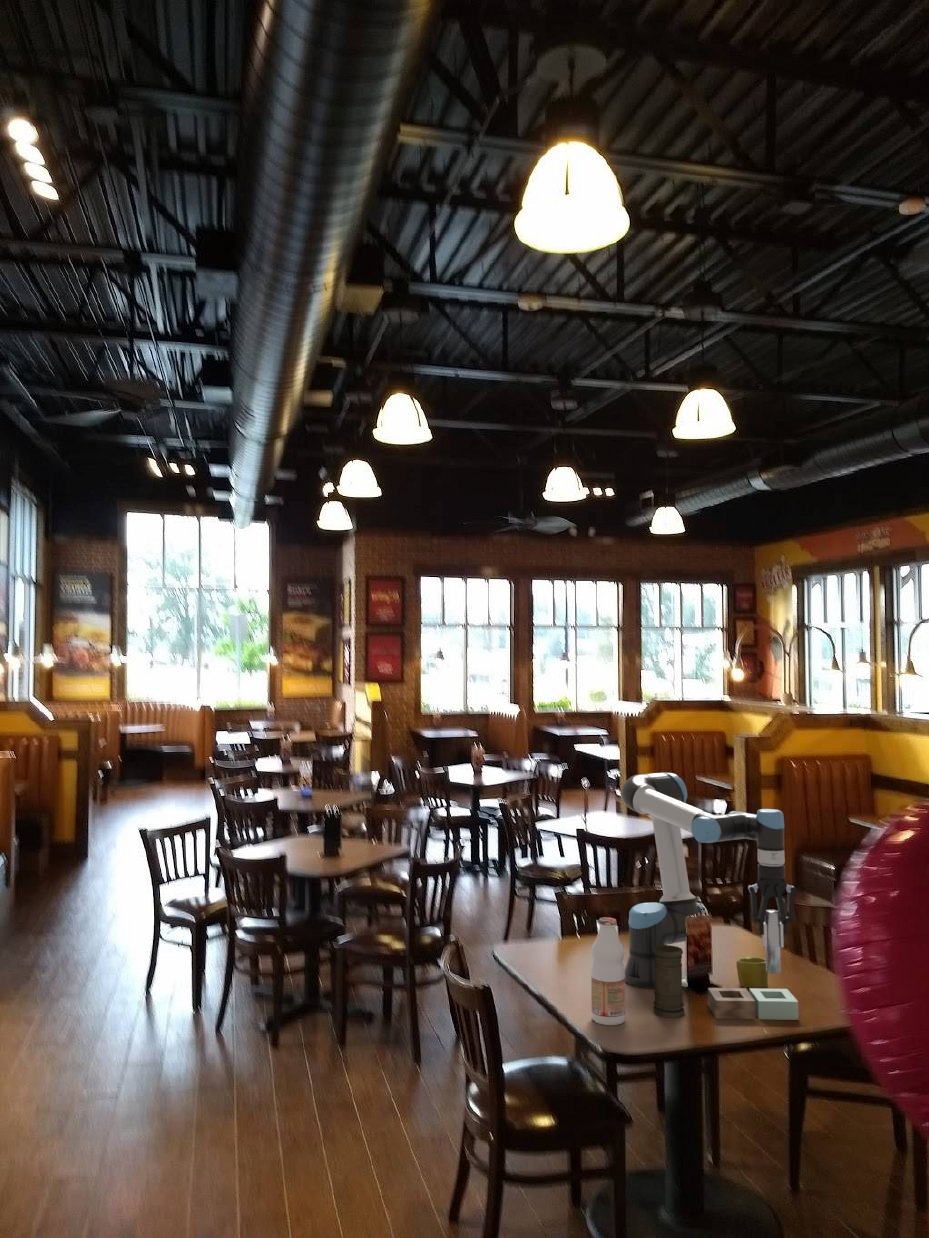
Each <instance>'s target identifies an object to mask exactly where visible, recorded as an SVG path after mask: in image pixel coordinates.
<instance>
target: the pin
mask: <svg viewBox="0 0 929 1238" xmlns="http://www.w3.org/2000/svg"><path fill="white" fill-rule="evenodd" d="M764 922H765V923H766V924H767V947H765V960H766V971H767V972H768V974H769V973H770V974H780V973H781V967H782V966H781V947H780V922H781V920H780V914H779V911H778V909H777V910H776V909H766V914H765V920H764Z"/></svg>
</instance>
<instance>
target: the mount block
mask: <svg viewBox="0 0 929 1238" xmlns="http://www.w3.org/2000/svg"><path fill="white" fill-rule="evenodd" d="M707 1006H708V1007H709V1010H710V1011H711V1013H712V1014H713V1016H714V1017H715V1019H717V1020H718V1019H722V1020H756V1014H755V1000H754V999H753V997H752V996H751V995H750V993H749V991H748V989H746V988H743V987H708V988H707Z"/></svg>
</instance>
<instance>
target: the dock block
mask: <svg viewBox="0 0 929 1238" xmlns="http://www.w3.org/2000/svg"><path fill="white" fill-rule="evenodd" d="M748 990H749V991H748V992H749V993H750V995H751V996H752V997H753V999H754V1000H755V1017H757V1018H758V1020H779V1021H780V1020H785V1021H786V1020H787V1021H789V1020H791V1021H792V1020H793V1021H794V1020H795V1021H796V1020H797V1021H800V1020H799V1016H800V1015H799V1014H800V1013H799V1001H798V1000H797V998H796V997H795V996H794V995H793V994H792V993H791V991H790V990H789V989H788V988H762V989H759V988H749V989H748Z"/></svg>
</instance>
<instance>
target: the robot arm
mask: <svg viewBox="0 0 929 1238" xmlns="http://www.w3.org/2000/svg"><path fill="white" fill-rule="evenodd" d="M621 799H622V801H623V804H624V805H626V807H627V808H629V809H630V811H631V810H632V811H633V812H636V813H638V814H641V815H646V816H647V817H648V818H649V819H651V820H652V826H653V831H654V833H653V834H654V838H655V845H656V846H655V847H656V853H657V860H658V866H659V873H660V874H659V875H660V881H661V887H662V896H661V897H660V899H659V902H655V901H654V902H643V903H641V902H640V903H637V904H636V905H634V906H632V907H631V908H630V910H629V912H628V923H627V924H628V939H629V940H628V946H629V947H628V950H629V951H628V952H629V953H628V958H627V962H626V965H625V966H624V969H625V984H628V985H631V986H633V987H637V988H644V989H645V988H646V989H655V965H654V962H655V956H654V952H653V949H654V947H656V946H661V945H672V944H677V943H683V942H686V938H687V933H686V927H685V917H687V916H688V915H694V914H696V913H698V912H700V911H701V909H702V911H703V912H704V913H706V911H705V909H704V908H703V906H702V904H701V903H699V902H697V900H696V899H697V897H696V896H695V895H694V894H692V892H691V891H690V884H689V877H688V871H687V864H686V856H685V851H684V845H683V844H684V843H683V838H682V831H681V829H682V830H684V831H686V832H689V833H691V834H692V837H693V838H694V839H695V840H696V841H697V842H698V843H702V844H703V843H704V844H705V843H706V844H713V843H717V842H725V841H734V840H743V839H747V840H752V841H756V843H757V844H756V845H757V847H756V848H757V862H758V864H757V879H756V883H755V884H752V885H751V884H748V886H747V889H748V892H749V894H750V895H749V899H750V900H749V901H750V913H751V914H750V916H751V919H752V920H753V921H754V922H756V923H757V924H758V925H757V927H758V928H757V930H758V934H759V935H760V936H761V945H762V946H763V947H764V948H766V947H767V924H766V923H765V914H766V910H768V904H769V900H770V898H772V897H774V898H775V901H776V907H777V911H779V914H780V948H785V947H784V946H785V945H784V936H787V934H788V932H787V931H788V930H787V926H788V923H792V922H793V921H794V906H795V905H794V900H795V899H794V898H795V894H796V890H797V888H796V887H795V886H794V885H792V884H791V885H789V884H788V883H787V881H786V866H785V862H786V860H785V858H786V857H785V819H784V813H783V811H781V810H779V809H774V808H773V809H771V808H761V809H758V810H757V811H756V814H755V813H750V812H744V811H741V810H736V811H735V810H732V811H729V812H728V813H727V814H712V813H709V812H707V811H704V810H703V809H700V808H698V807H696V806H693V805H690V804H688V803H687V799H688V789H687V786H686V784H685V782H684V780H683V779H682V778H681V777H679V775H677V774H676V773H673V772H654V773H643V774H641V773H640V774H635V775H632V776H630V777H629V778H628V779H626V780H625V782H624V784H623V785H622V787H621ZM758 889H759V890H760V892H761V896H760V897H761V900H760V906H759V911H758V901H757V900H758V899H757V894H756V893H757V892H758ZM785 890H786V892H787V893H786V911H785V906H784V902H783V901H784V900H783V896H782V895H783V892H784V891H785ZM703 909H704V910H703Z"/></svg>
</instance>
